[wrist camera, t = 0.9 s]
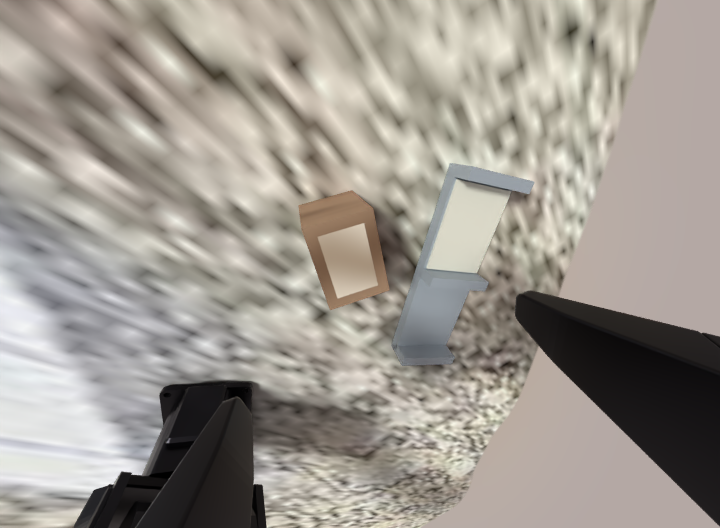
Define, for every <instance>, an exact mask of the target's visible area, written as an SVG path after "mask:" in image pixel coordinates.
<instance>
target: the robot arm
mask: <svg viewBox="0 0 720 528" xmlns="http://www.w3.org/2000/svg"><path fill="white" fill-rule="evenodd" d="M515 316H516V319H517V320H518V322H519V323H520V324H521V325H522V326H523V328H524V329H525V330H526V331H527V332H528V334H529V335H530V336H531V337H532V338H533V339H534V341H535V342H536V343H537V344H538V345H539V347H540V348H541V349H542V350H543V351H544V352H545V354H546V355H547V356H548V357H549V358H550V359H551V360H552V361H553V362H554V363H555V364H556V365H557V366H558V367H559V368H560V369H561V370H562V371H563V372H564V373H565V374H566V375H567V376H568V377H569V378H570V379H571V380H572V381H573V382H574V383H575V384H576V385H577V386H578V387H579V388H580V389H581V390H582V391H583V392H584V393H585V394H586V395H587V396H588V397H589V398H590V399H591V400H592V401H593V402H594V403H595V404H596V405H597V406H598V407H599V408H600V409H601V410H602V411H603V412H604V413H605V414H607V416H608V417H609V418H610V419H611V420H612V421H613V422H614V423H615V424H616V425H617V426H618V427H619V428H620V429H621V430H622V431H624V433H625V434H626V435H628V436H629V437H630V438H631V439H632V440H633V441H634V442H635V443H636V444H637V445H638V446H639V447H640V448H641V449H642V450H643V451H644V452H645V453H646V454H647V455H648V456H649V457H650V458H651V459H652V460H653V461H654V462H655V463H656V464H657V465H658V466H659V467H660V468H661V469H662V470H663V471H664V472H665V473H666V474H667V475H668V476H669V477H670V478H671V479H672V480H673V481H674V482H675V483H676V484H677V485H678V486H679V487H680V488H681V489H682V490H683V491H684V492H685V493H686V494H687V495H688V496H689V497H690V498H691V499H692V500H693V501H695V502H696V503H697V504H698V506H700V508H702V510H703V511H705V512H706V513H707V514H708V515H709V516H710V517H711V518H712V519H713V520H714V521H715V522H716V523H717V524H718V525H719V526H720V337H719V336H715V335H711V334H707V333H700V332H698V331H695V330H690V329H686V328H682V327H678V326H674V325H670V324H666V323H662V322H658V321H653V320H650V319H645V318H641V317H637V316H633V315H629V314H625V313H621V312H616V311H612V310H608V309H604V308H600V307H596V306H592V305H588V304H584V303H579V302H576V301H572V300H568V299H564V298H560V297H555V296H551V295H547V294H543V293H539V292H535V291H526V292H523V293H520V294H518V295H517V297H516V306H515ZM252 388H253V386H252V384H251V383H247V382H246V383H224V384H202V385H180V386H166V387H164V388H163V389H162V391H161V392H160V395H159V396H160V403H161V411H162V418H163V428H162V431H161V433H160V435H159V437H158V440H157V442H156V444H155V446H154V449H153V451H152V453H151V455H150V458H149V460H148V462H147V464H146V467H145V469H144V471H143V474H142V476H141V475H131V474H132V473H130V472H121V473H120V475H119V476H118V478H117V479H116V481H115V482H114V484H113V485H111V484H109V485H108V486H105V487H102V488H99V489H96V490H94V491H93V493H92V494H91V496H90V498H89V500H88V501H87V503H86V505H85V507H84V508H83V510H82V512H81V514H80V516H79V517H78V519H77V521H76V523H75V525H74V526H73V528H266V517H265V507H264V496H263V486H262V485H259V484H254V485H253V482H254V462H253V420H252V415H251V404H252Z"/></svg>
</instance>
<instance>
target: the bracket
mask: <svg viewBox="0 0 720 528" xmlns="http://www.w3.org/2000/svg"><path fill="white" fill-rule="evenodd" d="M533 185H534V182H533V181H529V180H525V179H521V178H517V177H513V176H509V175H505V174H501V173H497V172H493V171H489V170H485V169H481V168H477V167H472V166H466V165H459V164H453V163H450V165H449V168H448V171H447V175H446V178H445V181H444V184H443V187H442V190H441V193H440V196H439V199H438V202H437V205H436V209H435V212H434V215H433V218H432V221H431V224H430V227H429V230H428V233H427V236H426V240H425V243H424V246H423V249H422V252H421V255H420V258H419V261H418V264H417V267H416V270H415V274H414V277H413V280H412V283H411V286H410V289H409V292H408V295H407V298H406V301H405V305H404V308H403V311H402V314H401V317H400V320H399V323H398V326H397V329H396V332H395V335H394V339H393V342H392V347H393V349H394V351H395V353H396V355H397V357H398V359H399V361H400V363H401V365H402V366H407V365H437V364H452V363H453V360H454V358H455V357H454V355H453V354H452V353H451V351H450V350H449V349H448V347H447V346H446V344H447V342H448V339H449V337H450V335H451V332H452V330H453V328H454V325H455V323H456V321H457V318H458V316H459V314H460V311H461V309H462V307H463V304H464V302H465V300H466V297H467V295H468V293H469V290H474V291H485V290H486V288H487V286H488V283H489V282H488V281H486V280H485V279H484V278H482V277H481V276H479V275H478V274H477V272H478V269H479V267H480V265H481V262H482V260H483V258H484V255H485V253H486V251H487V248H488V246H489V244H490V241H491V239H492V237H493V234H494V232H495V230H496V227H497V225H498V223H499V220H500V218H501V216H502V213H503V211H504V209H505V206H506V204H507V202H508V199H509V197H510V195H511V192H512V190H513V191H518V192H522V193H527V194H529V193H530V191H531V189H532V187H533Z"/></svg>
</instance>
